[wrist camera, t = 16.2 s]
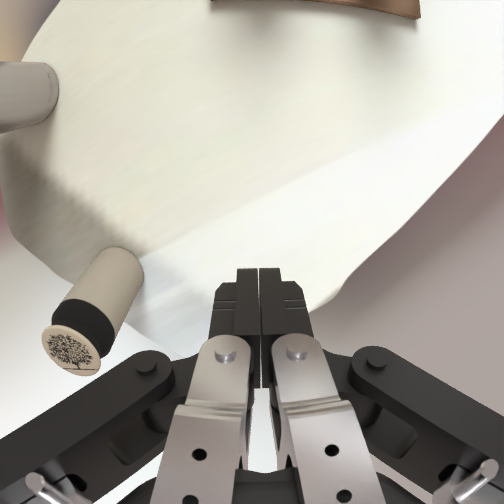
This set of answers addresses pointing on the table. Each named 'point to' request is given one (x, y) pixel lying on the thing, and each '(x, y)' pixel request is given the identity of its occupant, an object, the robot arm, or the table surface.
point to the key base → (384, 6)
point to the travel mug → (93, 312)
